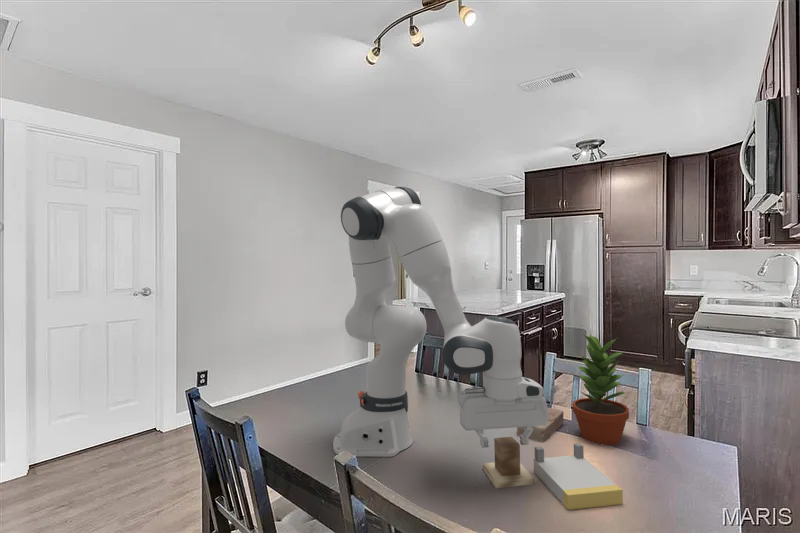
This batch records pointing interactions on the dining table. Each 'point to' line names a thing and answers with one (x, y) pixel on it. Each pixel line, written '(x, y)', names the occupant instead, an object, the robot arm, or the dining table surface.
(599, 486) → the dock
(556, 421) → the brick
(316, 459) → the dining table surface
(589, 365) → the potted plant
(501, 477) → the wooden block on base
